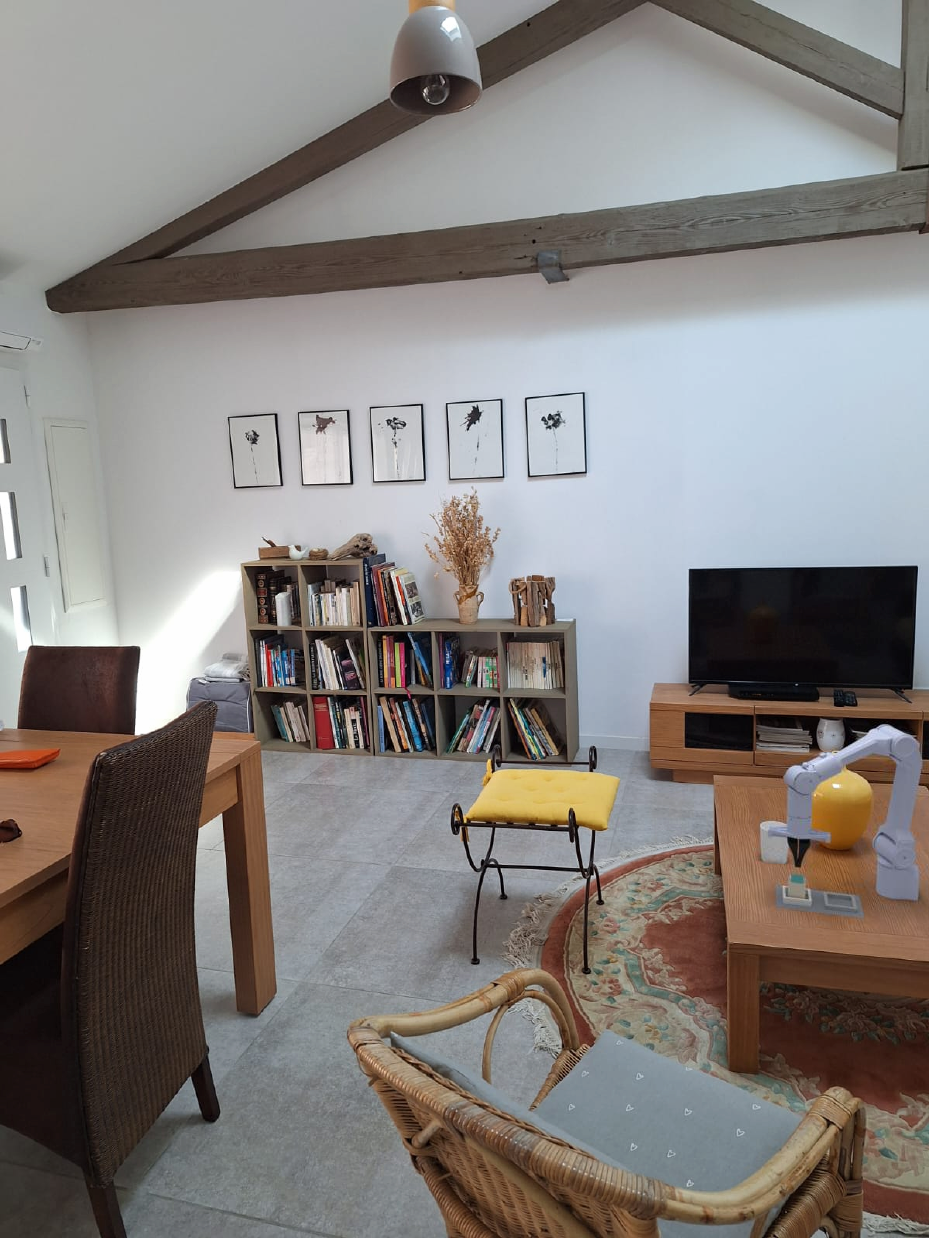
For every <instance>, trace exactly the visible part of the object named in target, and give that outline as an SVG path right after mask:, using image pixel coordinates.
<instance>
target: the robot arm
mask: <svg viewBox="0 0 929 1238" xmlns="http://www.w3.org/2000/svg"><path fill="white" fill-rule="evenodd" d="M920 746H921V744H920V742H919V741H918V740H917V739H915V737H914V736H913V735H911V734H908V733H905V732H903V731H901V730H899V729H897V728H895V727H893V726H892V725H890V724H880V725H879V726H877V727H876V728H872V729H870V730H869V731H868V733H867V734H866V735H864V736H863V737H861V738H859V739H858V740H856V741H854V742H853V743H851V744H849V745H848V746H846V747H844V748H843V749H840V750H839V751H837V752H836V753H832V752H829V751H827V752H823V751H822V752H820V753H819V754H818V755H819V756H817V757H815V758H813V759H811V760H809V761H807V762H806V761H805V762H802V764H801V765H799V764H798V765H792V766H790V767H789V768H788V769H787V770H786V772H785V774H784V775H783V777H782V778H783V781H784V783H785V784H786V786H787V796H786V797H787V798H786V799H787V800H786V801H787V804H786V825H787V827H768V837H772V836H776V837H786V838H787V843H788V845H789V847H788V848H789V850H790V851H791V854H792V857H793V863H794V868H798V869H799V868H802V863H803V860H804V857H805V855H806V853H807V852H808V850H809V849H810V846H811V841H820V842H825V843H829V844H831V837H832V836H831V832H828V831H823V830H817V829H813V828H812V821H813V820H812V819H813V818H812V816H813V814H812V813H813V793H814V792H815V791H816V789H817V788H818V786H819V785H821V783H823V782H826V781H827V780H829V779H832V778H833V777H836V776H838V775H840V774H841V773H842V770H843V767H844V766H846V765H849V764H851V763H854V762H856V761H859V760H860V759H863V758H865V757H868V756H870V755H873V754H875V755H879V756H880V755H881V756H886V757H890V758H891V759H892V760H893V761H894V763H895V764H896V767H895V773H894V779H893V783H892V787H891V788H892V790H891V793H890V799H889V804H888V811H887V815H886V819H885V823H884V824H881V825H880V826H879V827H878V830H877V833H876V834H875V836H874V837H873V840H872V848H873V850H874V851H875V853H877V854H876V857H877V861H876V862H877V866H876V884H875V885H876V886H875V888H876V889H875V891H876V893H877V894H879V895H880V896H882V897H883V898H888V899H892V900H907V901H919V890H920V889H919V887H920V886H919V885H920V872H919V867H918V865H917V864H914V863H915V862H916V859H917V852H916V850H915V845H916V840H915V838H914V836H913V833H912V832H911V824H912V820H913V814H914V810H915V804H916V799H917V793H918V789H919V784H920V777H921V773H922V769H923V759H922V758H923V757H922V755H921V751H920Z"/></svg>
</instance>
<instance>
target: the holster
mask: <svg viewBox="0 0 929 1238" xmlns="http://www.w3.org/2000/svg"><path fill="white" fill-rule="evenodd" d="M829 892H830V891H825V892H823V898H824V905H825V909H830V910H838V911H846V912H854V913H857V906H856V901H855V897H854V895H855V894H851V895H846V894H847V893H842V894H838V893H839V892H834V893H829ZM827 897H828V898H836V899H845V900H851V903H852V907H849V906H840V905H832V904H828V898H827Z"/></svg>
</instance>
